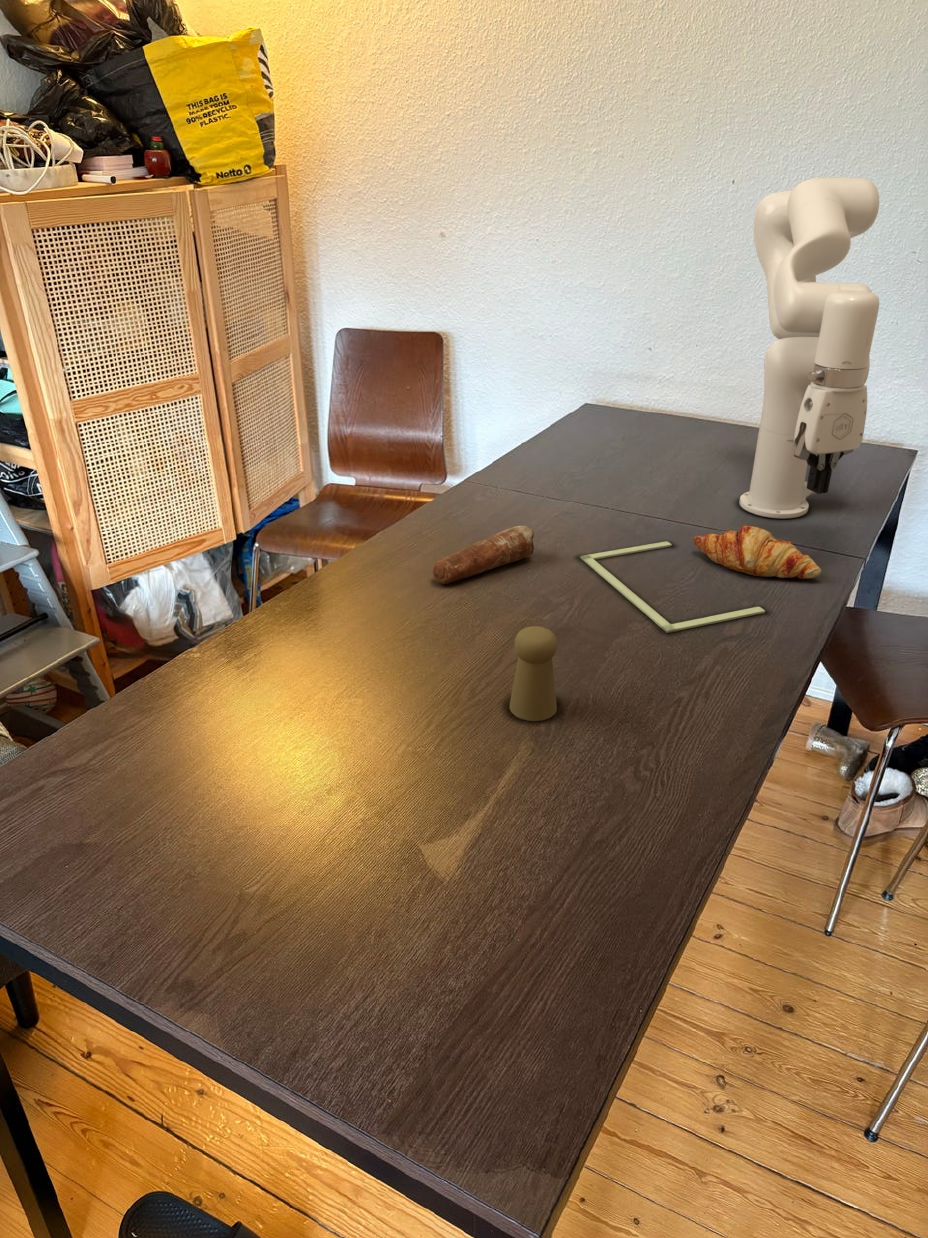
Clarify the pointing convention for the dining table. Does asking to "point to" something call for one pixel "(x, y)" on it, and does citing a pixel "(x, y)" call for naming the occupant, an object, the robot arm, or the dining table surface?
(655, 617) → the frame
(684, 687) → the dining table surface
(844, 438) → the robot arm
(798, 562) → the croissant
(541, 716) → the tan game pawn
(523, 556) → the bread
